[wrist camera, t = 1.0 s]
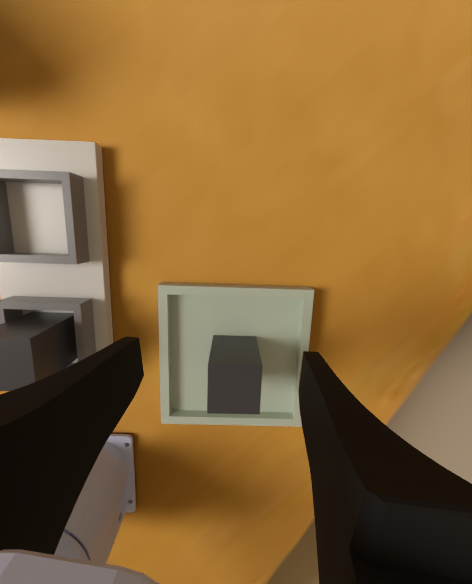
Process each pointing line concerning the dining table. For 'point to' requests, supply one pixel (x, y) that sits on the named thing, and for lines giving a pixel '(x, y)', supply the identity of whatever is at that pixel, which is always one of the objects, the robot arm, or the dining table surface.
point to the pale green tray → (235, 322)
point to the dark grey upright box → (234, 375)
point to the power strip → (51, 258)
